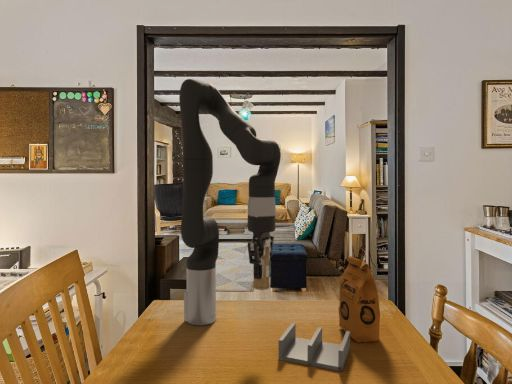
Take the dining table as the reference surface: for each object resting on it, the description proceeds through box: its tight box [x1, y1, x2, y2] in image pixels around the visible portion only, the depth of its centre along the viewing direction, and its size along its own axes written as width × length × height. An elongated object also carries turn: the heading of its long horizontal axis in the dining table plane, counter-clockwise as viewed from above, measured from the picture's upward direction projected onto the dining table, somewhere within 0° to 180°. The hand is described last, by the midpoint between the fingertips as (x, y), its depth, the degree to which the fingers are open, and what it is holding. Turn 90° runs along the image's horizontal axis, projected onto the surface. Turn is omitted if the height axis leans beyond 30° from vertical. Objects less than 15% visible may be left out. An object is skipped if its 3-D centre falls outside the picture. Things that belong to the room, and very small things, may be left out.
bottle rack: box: [277, 322, 351, 372], centre depth 99 cm, size 16×12×5 cm
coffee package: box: [337, 256, 381, 343], centre depth 111 cm, size 10×12×22 cm
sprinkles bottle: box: [252, 239, 271, 291], centre depth 103 cm, size 5×5×13 cm
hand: (261, 275), depth 104 cm, fingers closed on sprinkles bottle, 4 cm apart
